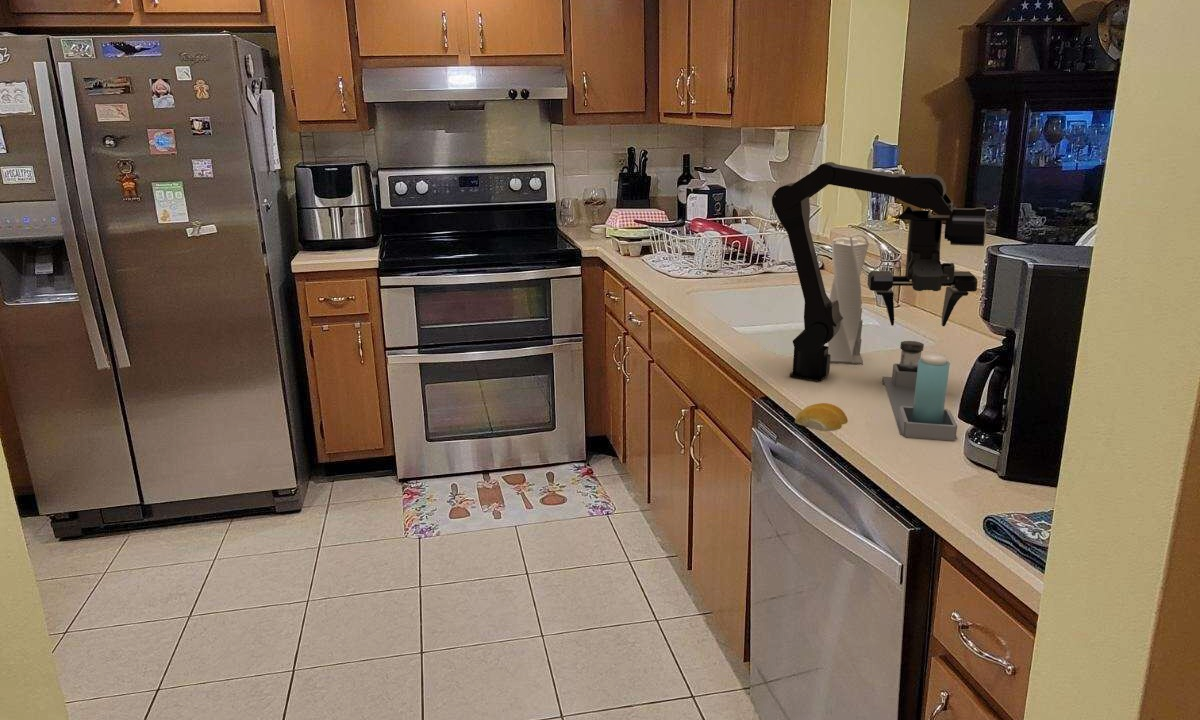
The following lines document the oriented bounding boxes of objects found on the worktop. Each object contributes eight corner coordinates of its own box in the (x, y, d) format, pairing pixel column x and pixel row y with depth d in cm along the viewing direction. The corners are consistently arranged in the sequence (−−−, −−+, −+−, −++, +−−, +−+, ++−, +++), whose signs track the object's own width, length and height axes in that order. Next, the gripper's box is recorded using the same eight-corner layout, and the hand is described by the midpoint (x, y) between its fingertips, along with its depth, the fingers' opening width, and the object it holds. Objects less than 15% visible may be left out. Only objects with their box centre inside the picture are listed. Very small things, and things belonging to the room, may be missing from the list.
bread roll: (852, 423, 146) (854, 402, 145) (833, 440, 140) (835, 418, 138) (807, 414, 151) (809, 393, 150) (787, 429, 144) (788, 407, 143)
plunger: (895, 374, 162) (898, 345, 160) (900, 368, 165) (903, 339, 164) (918, 377, 160) (921, 348, 158) (922, 372, 163) (925, 342, 162)
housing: (958, 446, 136) (961, 424, 135) (900, 442, 138) (902, 420, 137) (929, 384, 166) (931, 364, 164) (881, 381, 167) (883, 362, 166)
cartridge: (908, 431, 140) (916, 357, 136) (913, 422, 143) (922, 350, 140) (938, 437, 137) (947, 362, 133) (943, 427, 141) (952, 354, 137)
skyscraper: (863, 366, 176) (875, 235, 168) (824, 364, 178) (834, 234, 170) (859, 355, 184) (871, 228, 176) (822, 353, 186) (831, 227, 178)
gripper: (876, 251, 149) (870, 335, 153) (988, 251, 145) (979, 337, 149) (869, 241, 159) (864, 320, 163) (974, 241, 155) (966, 322, 160)
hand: (917, 325), depth 159 cm, fingers open, 9 cm apart
